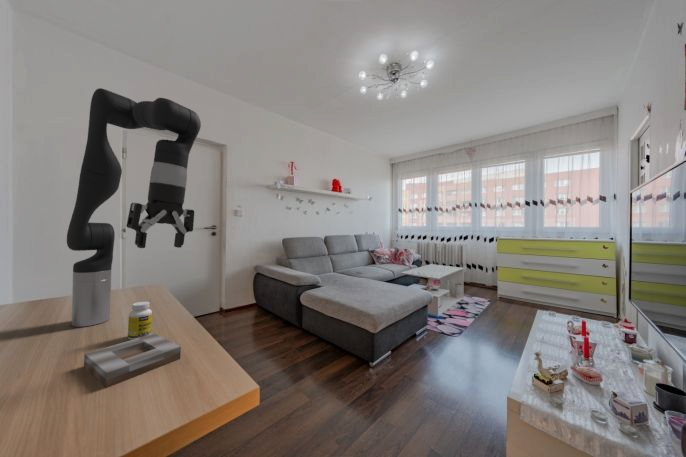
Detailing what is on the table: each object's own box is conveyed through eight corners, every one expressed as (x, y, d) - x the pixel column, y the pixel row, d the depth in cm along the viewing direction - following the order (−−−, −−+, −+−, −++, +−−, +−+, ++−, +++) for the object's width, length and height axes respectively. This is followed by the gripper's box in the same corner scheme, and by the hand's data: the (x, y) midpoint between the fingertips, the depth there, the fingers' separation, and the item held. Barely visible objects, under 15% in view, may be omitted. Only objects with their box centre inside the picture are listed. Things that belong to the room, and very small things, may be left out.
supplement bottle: (138, 341, 72) (139, 306, 72) (122, 339, 73) (123, 305, 73) (155, 333, 78) (156, 301, 78) (141, 332, 79) (142, 300, 79)
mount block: (84, 366, 59) (84, 353, 59) (154, 344, 71) (154, 333, 71) (106, 387, 52) (106, 372, 52) (180, 358, 64) (180, 346, 64)
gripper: (187, 188, 72) (179, 245, 73) (127, 176, 60) (118, 245, 60) (204, 189, 69) (196, 249, 69) (144, 177, 56) (135, 250, 56)
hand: (160, 247), depth 65 cm, fingers open, 8 cm apart
